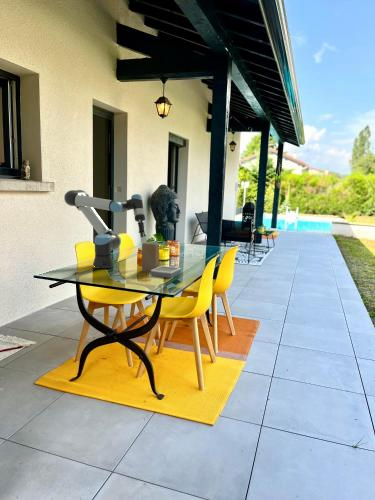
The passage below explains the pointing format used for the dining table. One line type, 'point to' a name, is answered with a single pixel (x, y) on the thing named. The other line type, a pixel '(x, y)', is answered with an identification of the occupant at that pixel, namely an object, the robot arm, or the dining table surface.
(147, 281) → the dining table surface
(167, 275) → the baseplate
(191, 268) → the dining table surface
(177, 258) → the dining table surface
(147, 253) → the block
